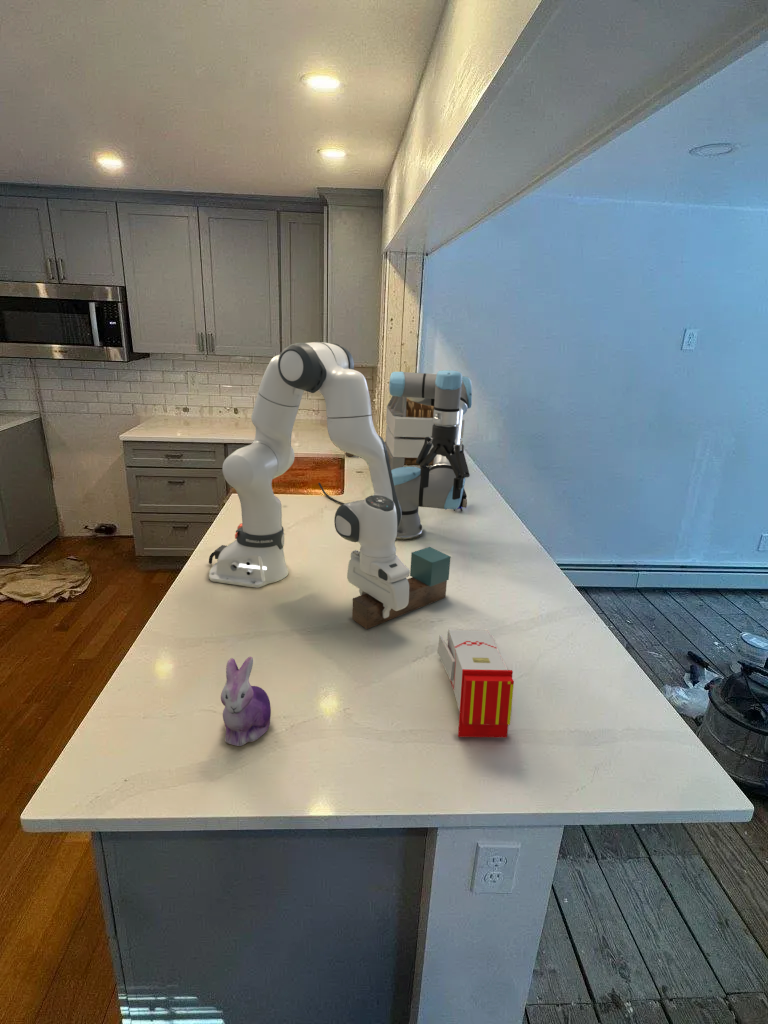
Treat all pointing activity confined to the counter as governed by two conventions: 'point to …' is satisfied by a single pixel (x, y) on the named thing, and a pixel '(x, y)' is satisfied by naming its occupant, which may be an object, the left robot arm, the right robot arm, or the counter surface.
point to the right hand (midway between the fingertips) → (439, 493)
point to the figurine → (244, 705)
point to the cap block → (430, 566)
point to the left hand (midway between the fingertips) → (375, 610)
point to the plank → (369, 608)
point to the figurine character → (463, 501)
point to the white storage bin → (408, 430)
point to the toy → (478, 682)
